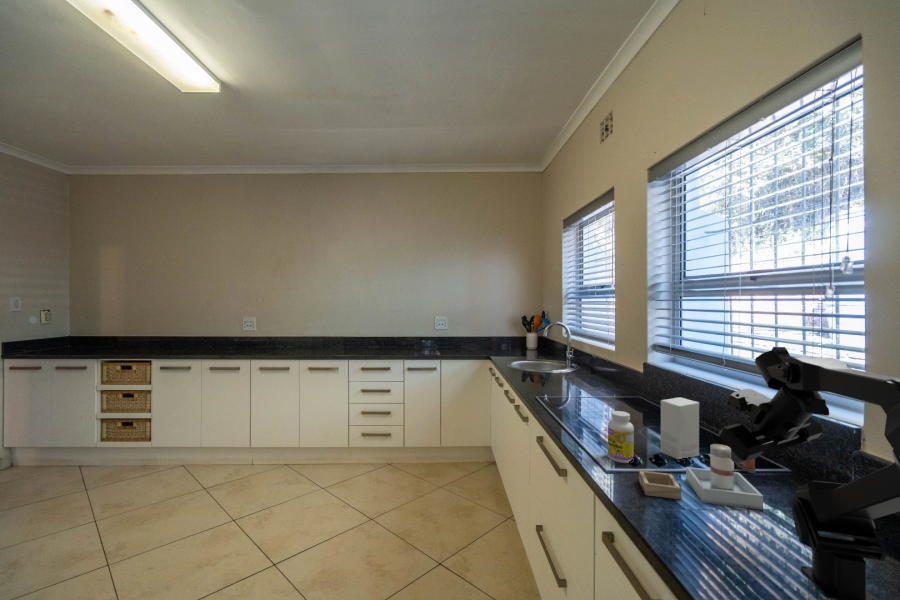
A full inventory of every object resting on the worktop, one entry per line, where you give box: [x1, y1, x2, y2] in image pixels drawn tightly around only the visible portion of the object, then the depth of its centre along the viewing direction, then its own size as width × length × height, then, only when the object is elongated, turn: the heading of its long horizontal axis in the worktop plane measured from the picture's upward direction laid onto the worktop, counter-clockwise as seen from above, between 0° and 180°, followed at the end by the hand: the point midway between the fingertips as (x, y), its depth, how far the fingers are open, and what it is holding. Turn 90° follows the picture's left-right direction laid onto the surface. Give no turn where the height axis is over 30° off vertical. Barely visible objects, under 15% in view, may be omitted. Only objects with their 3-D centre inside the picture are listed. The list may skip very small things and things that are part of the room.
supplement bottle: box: [607, 410, 635, 464], centre depth 106 cm, size 7×7×13 cm
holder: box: [638, 469, 682, 500], centre depth 89 cm, size 7×7×2 cm
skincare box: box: [660, 396, 700, 460], centre depth 109 cm, size 8×7×16 cm
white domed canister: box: [709, 443, 735, 491], centre depth 87 cm, size 4×4×10 cm
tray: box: [685, 466, 764, 511], centre depth 87 cm, size 11×11×3 cm
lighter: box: [734, 458, 757, 474], centre depth 102 cm, size 8×3×10 cm, turn 168°
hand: (751, 455), depth 80 cm, fingers open, 9 cm apart
